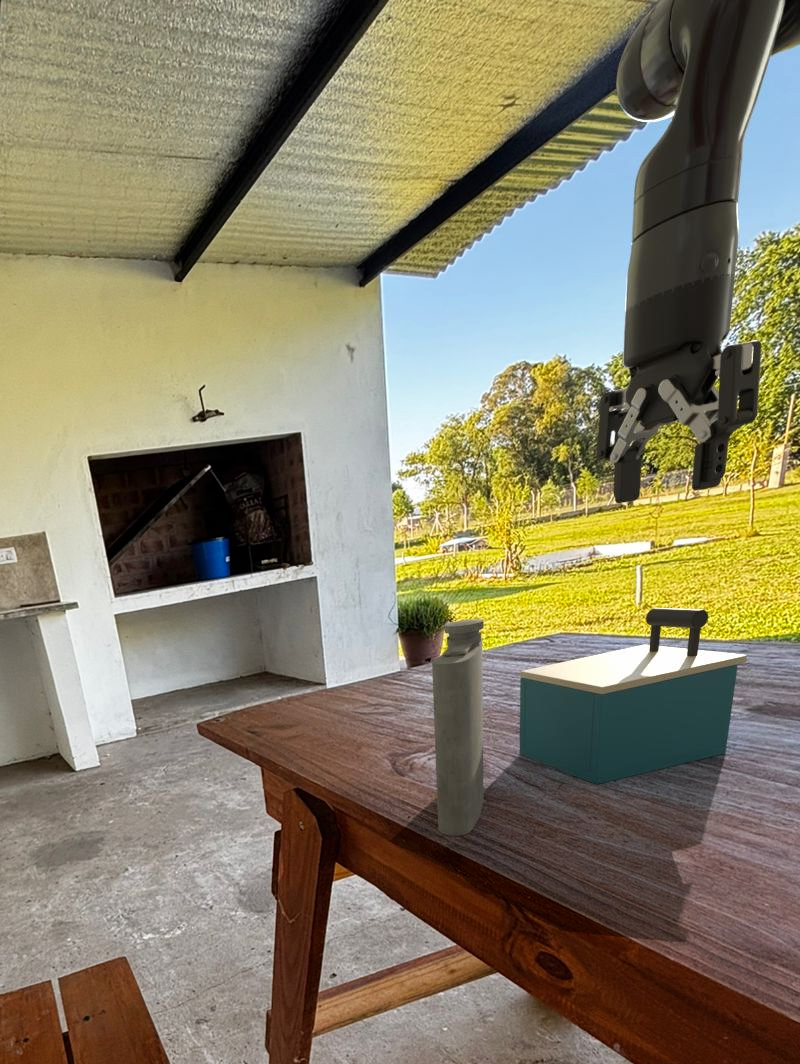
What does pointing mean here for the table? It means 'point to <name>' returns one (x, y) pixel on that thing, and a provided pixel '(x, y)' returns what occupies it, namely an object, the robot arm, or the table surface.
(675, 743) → the box
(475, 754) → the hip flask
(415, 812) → the table surface
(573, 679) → the lid
